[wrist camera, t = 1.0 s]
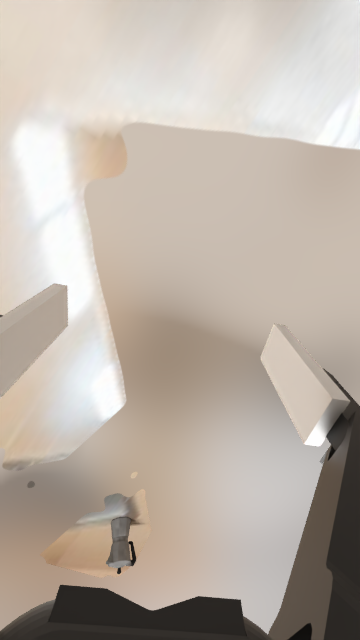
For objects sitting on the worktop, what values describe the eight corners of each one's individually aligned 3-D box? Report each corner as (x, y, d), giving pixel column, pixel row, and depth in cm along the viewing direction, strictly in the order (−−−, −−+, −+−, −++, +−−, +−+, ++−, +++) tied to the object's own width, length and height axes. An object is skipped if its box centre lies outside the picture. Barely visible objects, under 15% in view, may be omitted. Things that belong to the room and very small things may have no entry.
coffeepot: (103, 522, 113) (98, 577, 99) (115, 515, 110) (112, 570, 96) (129, 525, 121) (129, 576, 107) (141, 518, 118) (142, 570, 103)
